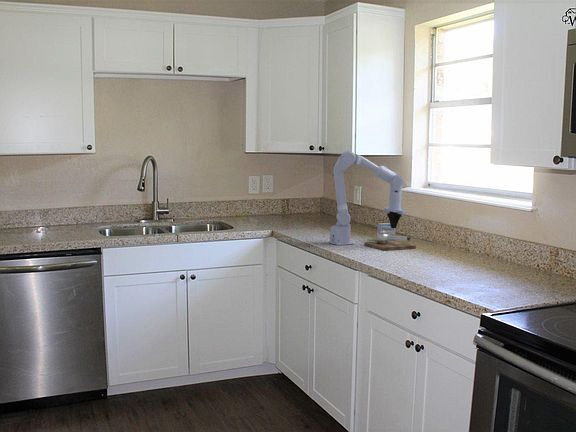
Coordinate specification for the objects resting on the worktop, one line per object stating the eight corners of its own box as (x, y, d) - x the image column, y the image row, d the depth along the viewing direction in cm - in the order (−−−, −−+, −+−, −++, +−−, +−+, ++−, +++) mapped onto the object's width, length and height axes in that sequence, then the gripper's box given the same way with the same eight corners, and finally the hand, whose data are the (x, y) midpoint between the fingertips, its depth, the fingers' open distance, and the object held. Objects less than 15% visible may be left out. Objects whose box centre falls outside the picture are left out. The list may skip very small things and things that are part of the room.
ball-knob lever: (376, 243, 310) (377, 231, 309) (377, 242, 315) (377, 230, 314) (410, 245, 307) (410, 233, 306) (410, 244, 311) (411, 232, 311)
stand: (384, 250, 300) (385, 247, 300) (364, 245, 314) (364, 241, 314) (415, 248, 309) (415, 245, 309) (394, 243, 323) (394, 239, 323)
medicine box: (380, 241, 327) (381, 224, 326) (376, 240, 331) (377, 223, 330) (394, 241, 329) (395, 224, 328) (391, 239, 333) (392, 222, 332)
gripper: (411, 201, 310) (409, 229, 312) (392, 198, 323) (390, 225, 325) (399, 201, 307) (398, 230, 309) (380, 198, 320) (379, 226, 321)
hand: (393, 228), depth 316 cm, fingers closed
